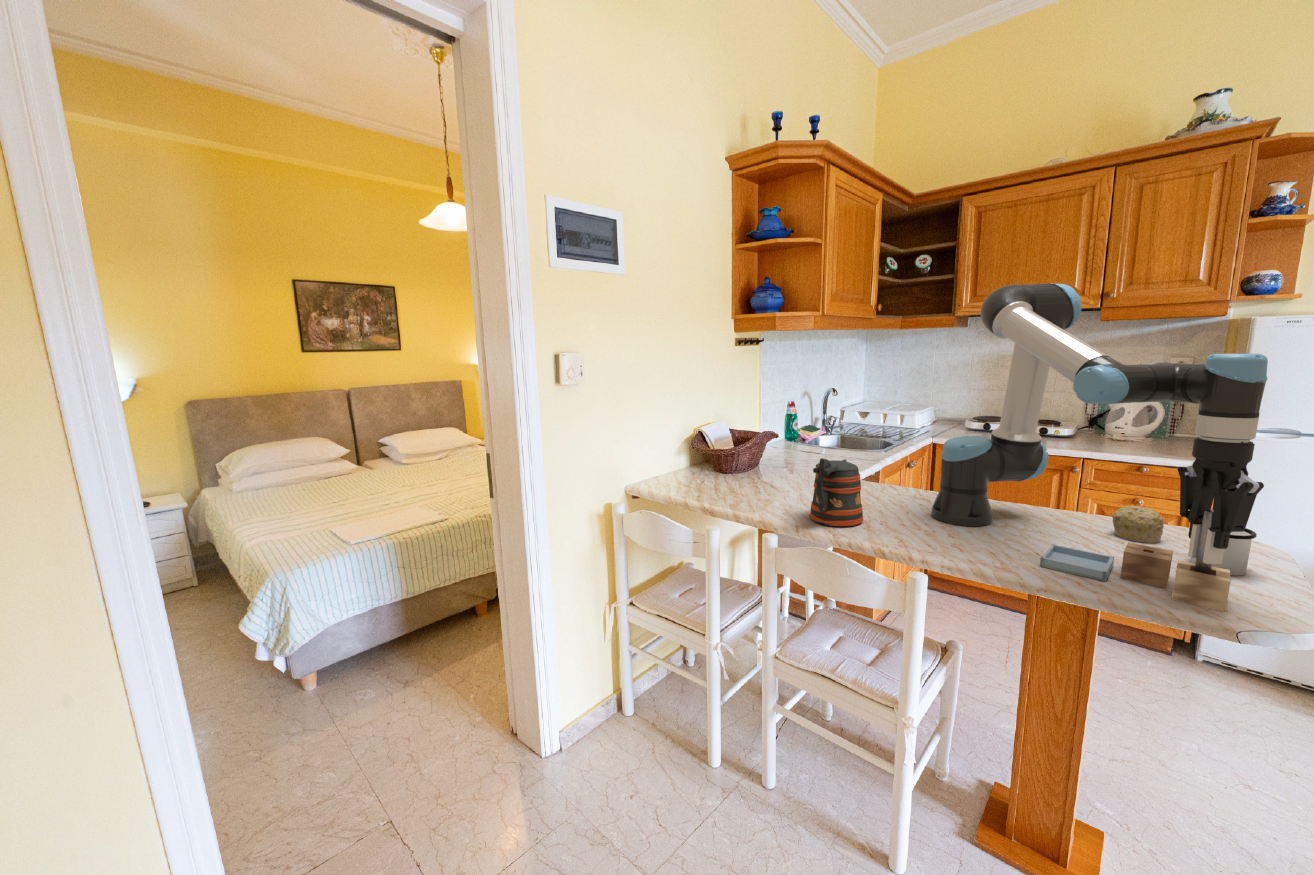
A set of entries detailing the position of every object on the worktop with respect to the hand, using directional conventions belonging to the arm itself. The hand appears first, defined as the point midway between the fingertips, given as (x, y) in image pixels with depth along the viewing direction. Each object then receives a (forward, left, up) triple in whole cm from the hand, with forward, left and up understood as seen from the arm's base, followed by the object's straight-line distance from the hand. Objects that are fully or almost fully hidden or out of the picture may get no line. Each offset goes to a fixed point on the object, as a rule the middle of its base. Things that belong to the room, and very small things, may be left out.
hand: (1204, 559), depth 98 cm
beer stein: (-73, -6, -8) cm, 74 cm away
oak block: (0, 0, -8) cm, 8 cm away
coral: (-12, +34, -8) cm, 37 cm away
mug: (+2, +23, -8) cm, 24 cm away
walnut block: (-8, +5, -8) cm, 13 cm away
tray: (-19, +3, -8) cm, 21 cm away
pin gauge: (0, 0, -5) cm, 5 cm away
